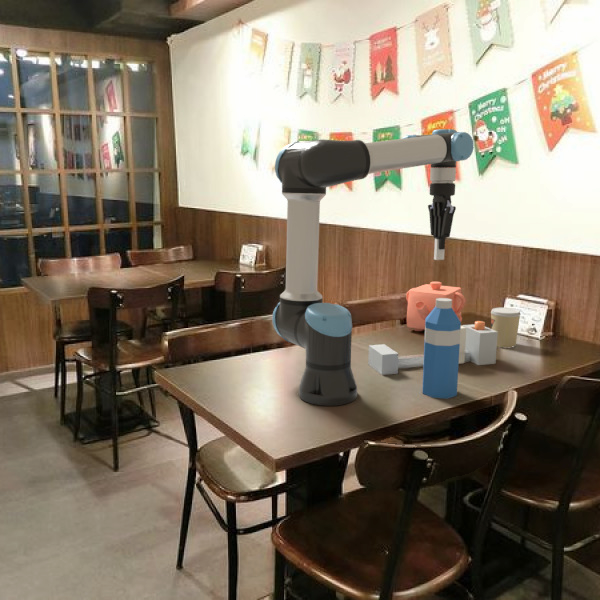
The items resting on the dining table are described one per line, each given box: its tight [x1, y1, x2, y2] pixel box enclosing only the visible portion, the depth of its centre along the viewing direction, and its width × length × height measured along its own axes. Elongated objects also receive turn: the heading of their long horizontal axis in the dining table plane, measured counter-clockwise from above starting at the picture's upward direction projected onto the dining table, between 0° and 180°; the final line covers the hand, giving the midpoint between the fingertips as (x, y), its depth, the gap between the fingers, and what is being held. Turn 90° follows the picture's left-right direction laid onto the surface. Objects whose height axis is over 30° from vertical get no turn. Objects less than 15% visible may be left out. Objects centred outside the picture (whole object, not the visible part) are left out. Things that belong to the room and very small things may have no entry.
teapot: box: [405, 281, 467, 332], centre depth 216 cm, size 25×23×18 cm
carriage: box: [458, 325, 466, 365], centre depth 180 cm, size 8×6×11 cm
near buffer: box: [367, 343, 399, 376], centre depth 175 cm, size 5×10×6 cm, turn 16°
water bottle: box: [422, 298, 462, 399], centre depth 154 cm, size 9×9×25 cm
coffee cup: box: [490, 306, 521, 348], centre depth 199 cm, size 9×9×12 cm
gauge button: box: [474, 320, 486, 331], centre depth 182 cm, size 3×3×4 cm
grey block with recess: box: [461, 323, 498, 366], centre depth 183 cm, size 6×10×10 cm, turn 16°
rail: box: [398, 350, 471, 370], centre depth 179 cm, size 26×2×3 cm, turn 106°
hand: (439, 259), depth 184 cm, fingers closed
